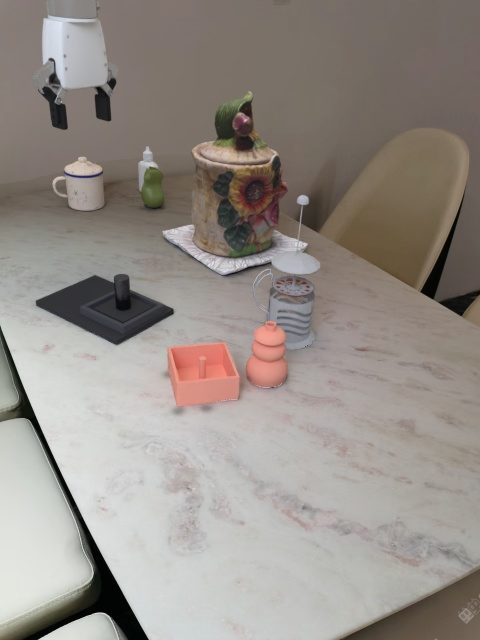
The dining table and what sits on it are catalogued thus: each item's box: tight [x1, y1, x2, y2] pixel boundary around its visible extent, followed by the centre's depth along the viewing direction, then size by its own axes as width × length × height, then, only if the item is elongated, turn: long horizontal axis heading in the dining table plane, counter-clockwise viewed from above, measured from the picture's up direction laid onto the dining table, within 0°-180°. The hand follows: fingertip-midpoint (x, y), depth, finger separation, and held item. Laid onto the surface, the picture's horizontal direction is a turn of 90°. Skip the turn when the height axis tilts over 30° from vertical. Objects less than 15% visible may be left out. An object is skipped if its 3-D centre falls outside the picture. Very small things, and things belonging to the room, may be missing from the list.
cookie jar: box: [162, 91, 309, 276], centre depth 126 cm, size 25×25×32 cm
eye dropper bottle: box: [137, 146, 159, 193], centre depth 156 cm, size 4×6×12 cm
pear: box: [140, 166, 165, 209], centre depth 148 cm, size 6×5×10 cm
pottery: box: [167, 321, 289, 408], centre depth 89 cm, size 18×10×10 cm, turn 106°
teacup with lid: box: [52, 156, 105, 212], centre depth 144 cm, size 12×9×12 cm
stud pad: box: [93, 273, 153, 323], centre depth 103 cm, size 7×7×7 cm
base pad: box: [35, 274, 175, 346], centre depth 106 cm, size 20×14×2 cm
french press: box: [252, 194, 321, 351], centre depth 98 cm, size 10×12×25 cm
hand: (82, 123), depth 103 cm, fingers open, 9 cm apart
